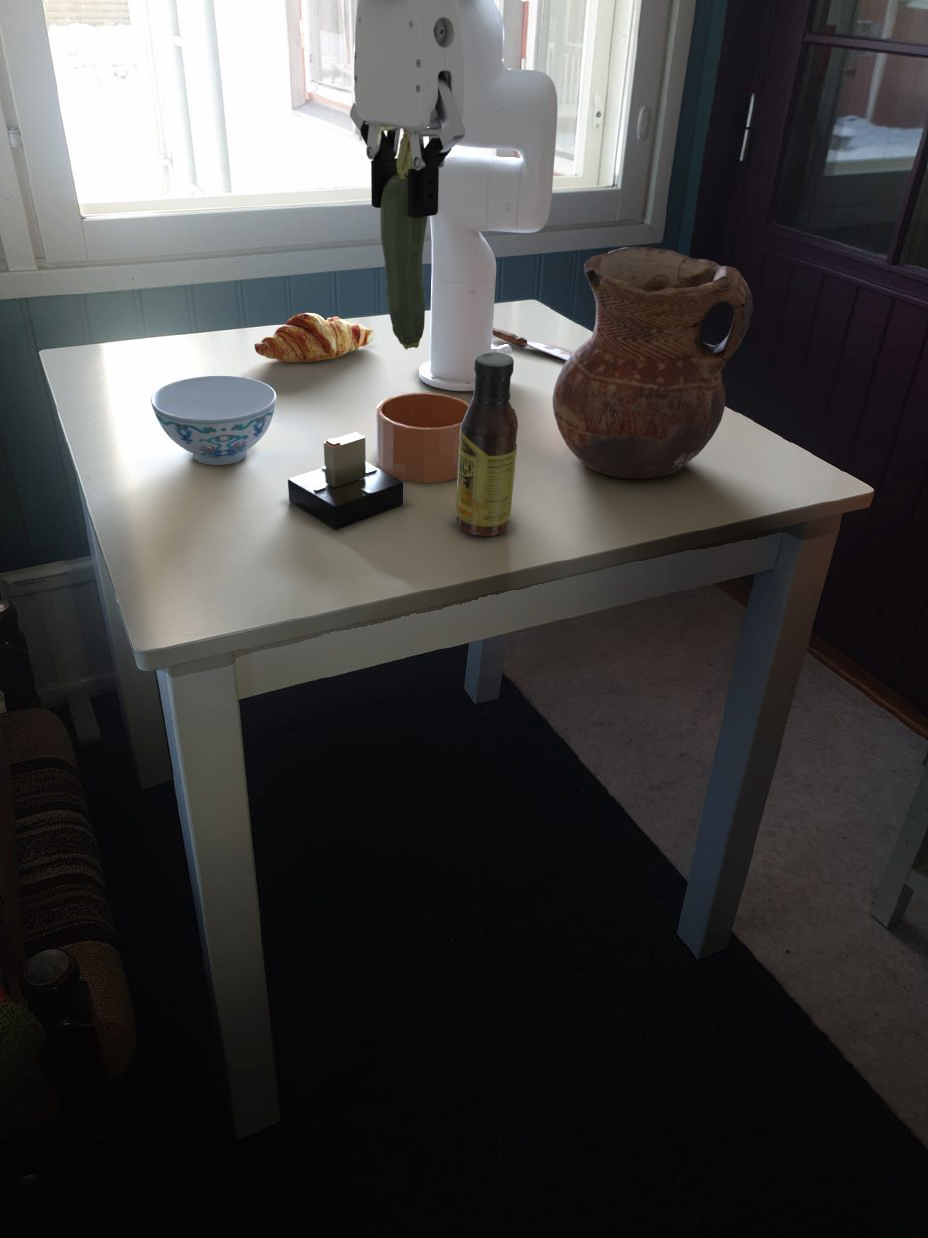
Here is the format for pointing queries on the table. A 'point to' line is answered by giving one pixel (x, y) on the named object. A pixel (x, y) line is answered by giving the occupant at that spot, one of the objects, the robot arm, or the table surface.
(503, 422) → the sauce bottle
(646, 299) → the jug
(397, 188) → the vegetable
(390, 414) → the terracotta pot
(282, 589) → the table surface
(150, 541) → the table surface
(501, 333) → the kitchen knife
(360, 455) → the hob knob
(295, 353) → the croissant
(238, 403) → the chinaware
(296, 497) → the panel
